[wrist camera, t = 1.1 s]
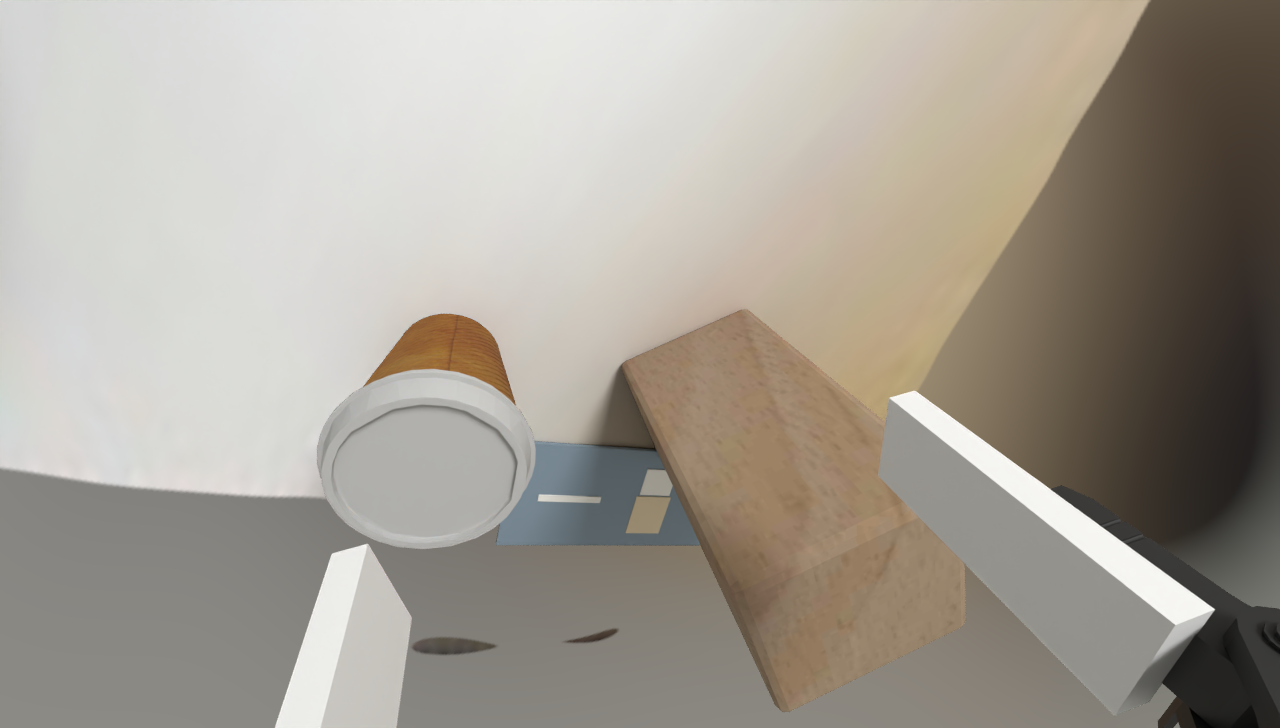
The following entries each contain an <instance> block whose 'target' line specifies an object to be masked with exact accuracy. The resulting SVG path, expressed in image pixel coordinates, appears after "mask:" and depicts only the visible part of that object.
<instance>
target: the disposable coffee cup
mask: <svg viewBox="0 0 1280 728" xmlns="http://www.w3.org/2000/svg"><path fill="white" fill-rule="evenodd" d="M535 454H536V448H535V442H534V437H533V434H532V431H531V428H530V427H529V425H528V423H527V421H526V419H525V418H524V416H523V414H522V412H521V411H520V410H519V409H518V408H517V407H516V405H515V400H514V397H513V394H512V391H511V388H510V384H509V381H508V378H507V375H506V371H505V368H504V365H503V362H502V358H501V355H500V352H499V348H498V345H497V343H496V341H495V339H494V337H493V336H492V335H491V333H490V332H489V331H488V330H487V329H486V328H484V327H483V326H482V325H481V324H479V323H478V322H476V321H474V320H472V319H470V318H467V317H464V316H460V315H454V314H438V315H432V316H429V317H426V318H424V319H421V320H419V321H418V322H416V323H414V324H413V325H412V326H411V327H410V328H409V329H408V330H407V331H406V332H405V333H404V335H403V336H402V337H401V339H400V340H399V341H398V342H397V344H396V345H395V346H394V348H393V349H392V350H391V351H390V353H389V354H388V355H387V356H386V358H385V359H384V360H383V362H382V363H381V364H380V366H379V367H378V368H377V369H376V371H375V372H374V373H373V375H372V376H371V377H370V379H369V380H368V381H367V383H366V384H365V385H364V386H363V388H361V389H359V390H357V391H355V392H354V393H352V394H351V395H350V396H349V397H348V398H347V399H345V400H344V401H343V402H342V403H341V404H340V405H339V406H338V407H337V408H336V409H335V410H334V411H333V413H332V414H331V415H330V417H329V419H328V420H327V422H326V423H325V425H324V427H323V429H322V432H321V434H320V438H319V442H318V446H317V465H318V469H319V473H320V477H321V479H322V486H323V489H324V492H325V496H326V499H327V500H328V502H329V503H330V505H331V506H332V508H333V509H334V511H335V512H336V514H337V515H338V516H339V517H340V518H341V519H342V520H343V521H344V522H345V523H346V524H347V525H348V526H350V527H351V528H353V529H354V530H356V531H357V532H359V533H361V534H363V535H365V536H367V537H369V538H371V539H373V540H375V541H378V542H382V543H386V544H389V545H392V546H396V547H404V548H416V549H430V548H439V547H447V546H453V545H456V544H459V543H462V542H465V541H469V540H471V539H475V538H477V537H479V536H481V535H482V534H484V533H486V532H488V531H489V530H491V529H493V528H494V527H496V526H497V525H498V524H499V523H501V522H502V521H503V520H504V519H505V518H507V516H508V515H509V514H510V512H511V511H512V510H513V509H514V507H515V506H516V505H517V503H518V501H519V500H520V498H521V496H522V493H523V492H524V491H525V489H526V488H527V486H528V483H529V481H530V479H531V477H532V474H533V470H534V466H535Z"/></svg>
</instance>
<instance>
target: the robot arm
mask: <svg viewBox="0 0 1280 728" xmlns="http://www.w3.org/2000/svg"><path fill="white" fill-rule="evenodd" d="M878 476H879V477H880V478H881V479H882V480H883V481H884V482H885V483H886V484H887V485H888V486H889V487H890V488H891V489H892V490H893V491H894V492H895V493H896V494H897V496H898V497H899V498H900V499H901V500H902V501H903V502H904V503H905V504H906V505H907V506H908V507H909V508H910V509H911V510H912V511H913V512H914V513H915V514H916V515H917V516H918V517H919V518H920V519H921V520H922V521H923V522H924V523H925V524H926V525H927V526H928V527H929V528H930V529H931V530H932V531H933V532H934V533H935V534H936V535H937V536H938V537H939V538H940V539H941V540H942V541H943V542H944V543H945V544H946V545H947V546H948V547H949V548H950V549H951V550H952V551H953V552H954V553H955V554H956V555H957V556H958V557H959V558H960V560H961V561H962V562H963V563H964V564H965V565H967V566H968V567H969V569H970V570H971V571H972V572H973V573H974V574H975V575H976V576H977V577H978V578H979V579H980V580H981V581H982V582H983V583H984V584H985V585H986V586H988V588H989V589H990V590H991V591H992V592H993V593H994V594H995V595H996V596H997V597H998V598H999V599H1000V600H1001V601H1002V602H1003V603H1004V604H1005V605H1006V606H1007V607H1008V608H1009V609H1010V610H1011V611H1012V612H1013V613H1014V614H1015V615H1016V616H1017V617H1018V618H1019V619H1020V620H1021V621H1022V622H1023V624H1025V626H1026V627H1028V629H1029V630H1030V631H1031V632H1032V633H1033V634H1034V635H1035V636H1036V637H1037V638H1038V639H1039V640H1040V641H1041V642H1042V643H1043V644H1044V645H1045V646H1046V647H1047V648H1048V649H1049V650H1050V651H1051V652H1052V653H1053V654H1054V655H1055V656H1056V657H1057V658H1058V659H1059V660H1060V661H1061V662H1062V663H1063V664H1064V665H1065V666H1066V667H1067V668H1068V669H1069V670H1070V671H1071V672H1072V673H1073V674H1074V675H1075V676H1076V677H1077V678H1078V679H1079V680H1080V681H1081V682H1082V683H1083V684H1084V685H1085V686H1086V687H1087V689H1088V690H1090V692H1092V693H1093V695H1094V696H1095V697H1097V699H1098V700H1099V701H1100V702H1101V703H1102V704H1103V705H1104V706H1105V707H1106V708H1107V709H1108V710H1109V711H1110V712H1111V713H1112V714H1113V715H1114V716H1116V715H1118V714H1121V713H1123V712H1126V711H1128V710H1131V709H1133V708H1135V707H1138V706H1140V705H1143V704H1145V703H1147V702H1149V701H1150V700H1151V698H1152V697H1153V695H1154V694H1155V693H1156V691H1157V690H1158V688H1159V687H1160V686H1161V684H1162V683H1163V684H1164V685H1165V686H1166V687H1167V688H1169V689H1170V690H1171V691H1172V692H1173V693H1174V694H1175V695H1176V696H1177V697H1176V698H1175V699H1174V701H1173V702H1172V703H1171V705H1170V706H1169V707H1168V709H1167V710H1166V711H1165V713H1164V714H1163V715H1162V717H1161V718H1160V719H1159V720H1158V728H1173V727H1174V726H1175V725H1176V724H1177V722H1179V725H1180V728H1280V609H1277V608H1268V607H1260V606H1256V607H1251V606H1249V605H1247V604H1245V603H1243V602H1242V601H1240V600H1239V599H1237V598H1235V597H1234V596H1232V595H1231V594H1229V593H1228V592H1226V591H1225V590H1223V589H1222V588H1221V587H1219V586H1218V585H1216V584H1215V583H1213V582H1212V581H1210V580H1209V579H1208V578H1206V577H1205V576H1203V575H1202V574H1200V573H1199V572H1197V571H1196V570H1195V569H1193V568H1192V567H1190V566H1189V565H1187V564H1186V563H1184V562H1183V561H1182V560H1180V559H1179V558H1177V557H1176V556H1174V555H1173V554H1172V553H1170V552H1169V551H1167V550H1166V549H1164V548H1163V547H1161V546H1160V545H1159V544H1157V543H1156V542H1154V541H1153V540H1151V539H1150V538H1148V537H1147V538H1145V537H1143V535H1142V533H1141V532H1140V531H1138V530H1137V529H1136V528H1134V527H1133V526H1131V525H1130V524H1128V523H1127V522H1122V521H1121V520H1120V517H1118V516H1117V515H1115V514H1114V513H1112V512H1111V511H1110V510H1108V509H1107V508H1105V507H1104V506H1102V505H1101V504H1099V503H1098V502H1096V501H1095V500H1094V499H1092V498H1090V497H1087V496H1085V495H1083V494H1080V493H1078V492H1076V491H1074V490H1071V489H1069V488H1067V487H1064V486H1062V485H1061V486H1058V487H1055V488H1052V489H1049V488H1047V487H1046V486H1045V485H1044V484H1042V483H1041V482H1039V481H1038V480H1037V479H1035V478H1034V477H1033V476H1031V475H1030V474H1028V473H1027V472H1025V471H1024V470H1023V469H1022V468H1020V467H1019V466H1017V465H1016V464H1015V463H1013V462H1012V461H1011V460H1009V459H1008V458H1006V457H1005V456H1004V455H1002V454H1001V453H999V452H998V451H997V450H995V449H994V448H993V447H991V446H990V445H989V444H987V443H986V442H985V441H983V440H982V439H980V438H979V437H978V436H976V435H975V434H974V433H972V432H971V431H970V430H968V429H967V428H965V427H964V426H963V425H961V424H960V423H959V422H957V421H956V420H954V419H953V418H952V417H950V416H949V415H948V414H946V413H945V412H943V411H942V410H941V409H939V408H938V407H937V406H935V405H934V404H932V403H931V402H930V401H928V400H927V399H926V398H924V397H923V396H922V395H920V394H919V393H917V392H916V391H912V392H908V393H905V394H901V395H897V396H894V397H890V398H889V402H888V409H887V417H886V424H885V431H884V438H883V445H882V452H881V459H880V466H879V473H878ZM411 620H412V618H411V616H410V614H409V612H408V611H407V609H406V607H405V605H404V604H403V602H402V601H401V599H400V597H399V595H398V594H397V592H396V591H395V589H394V587H393V585H392V584H391V582H390V580H389V579H388V577H387V575H386V573H385V572H384V570H383V568H382V567H381V565H380V563H379V562H378V560H377V558H376V556H375V555H374V553H373V551H372V550H371V548H370V546H369V545H368V544H365V545H361V546H357V547H354V548H350V549H347V550H343V551H339V552H336V553H332V555H331V558H330V561H329V564H328V567H327V570H326V573H325V576H324V579H323V582H322V585H321V589H320V592H319V594H318V598H317V601H316V604H315V607H314V610H313V613H312V616H311V619H310V622H309V625H308V628H307V631H306V634H305V638H304V640H303V643H302V646H301V649H300V653H299V656H298V659H297V662H296V665H295V668H294V671H293V674H292V677H291V680H290V683H289V686H288V689H287V692H286V695H285V699H284V701H283V704H282V708H281V710H280V714H279V717H278V720H277V723H276V726H275V728H396V727H397V719H398V712H399V705H400V698H401V691H402V684H403V677H404V669H405V662H406V656H407V649H408V641H409V634H410V627H411Z"/></svg>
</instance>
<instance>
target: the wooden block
mask: <svg viewBox="0 0 1280 728" xmlns="http://www.w3.org/2000/svg"><path fill="white" fill-rule="evenodd" d="M622 371H623V374H624V376H625V378H626V381H627V383H628V385H629V388H630V390H631V392H632V395H633V397H634V399H635V401H636V404H637V406H638V408H639V411H640V413H641V415H642V418H643V420H644V422H645V425H646V427H647V429H648V431H649V434H650V436H651V438H652V441H653V443H654V445H655V448H656V450H657V452H658V455H659V457H660V459H661V461H662V464H663V466H664V468H665V470H666V472H667V474H668V476H669V479H670V481H671V483H672V485H673V487H674V489H675V491H676V494H677V496H678V498H679V500H680V502H681V504H682V507H683V509H684V511H685V513H686V515H687V517H688V519H689V522H690V524H691V526H692V528H693V530H694V532H695V534H696V537H697V539H698V541H699V543H700V545H701V547H702V549H703V552H704V554H705V556H706V558H707V560H708V562H709V564H710V566H711V568H712V571H713V573H714V575H715V577H716V579H717V582H718V583H719V586H720V588H721V590H722V592H723V594H724V597H725V599H726V601H727V603H728V605H729V607H730V609H731V612H732V614H733V616H734V618H735V620H736V622H737V624H738V627H739V629H740V631H741V633H742V635H743V637H744V639H745V642H746V644H747V646H748V648H749V650H750V652H751V654H752V656H753V658H754V661H755V663H756V665H757V667H758V669H759V672H760V674H761V676H762V678H763V680H764V682H765V684H766V687H767V689H768V691H769V693H770V695H771V697H772V699H773V701H774V704H775V705H776V706H777V707H778V708H779V709H780V710H781V711H782V712H790V711H792V710H794V709H796V708H798V707H800V706H802V705H804V704H806V703H808V702H810V701H812V700H814V699H816V698H818V697H820V696H822V695H824V694H826V693H828V692H831V691H832V690H835V689H837V688H839V687H841V686H843V685H845V684H847V683H849V682H851V681H853V680H855V679H857V678H859V677H861V676H863V675H865V674H867V673H869V672H871V671H873V670H875V669H877V668H879V667H881V666H883V665H885V664H887V663H889V662H892V661H893V660H895V659H898V658H900V657H902V656H903V655H906V654H908V653H910V652H912V651H914V650H916V649H918V648H920V647H922V646H924V645H926V644H928V643H930V642H932V641H934V640H936V639H938V638H940V637H942V636H945V635H946V634H949V633H950V632H953V631H955V630H957V629H959V628H961V627H962V625H963V624H964V623H965V621H966V614H965V613H966V612H965V567H964V566H965V564H964V563H963V562H962V561H961V560H960V558H959V557H958V556H957V555H956V554H955V553H954V552H953V551H952V550H951V549H950V548H949V547H948V546H947V545H946V544H945V543H944V542H943V541H942V540H941V539H940V538H939V537H938V536H937V535H936V534H935V533H934V532H933V531H932V530H931V529H930V528H929V527H928V526H927V525H926V524H925V523H924V522H923V521H922V520H921V519H920V518H919V517H918V516H917V515H916V514H915V513H914V512H913V511H912V510H911V509H910V508H909V507H908V506H907V505H906V504H905V503H904V502H903V501H902V500H901V499H900V498H899V497H898V496H897V494H896V493H895V492H894V491H893V490H892V489H891V488H890V487H889V486H888V485H887V484H886V483H885V482H884V481H883V480H882V479H881V478H880V477H879V476H878V473H879V466H880V459H881V452H882V445H883V438H884V431H885V424H886V422H884V421H883V420H882V419H881V418H879V417H878V416H877V415H876V414H875V413H873V412H872V411H871V410H870V409H868V408H867V407H866V406H865V405H864V404H862V403H861V402H860V401H859V400H857V399H856V398H855V397H854V396H853V395H851V394H850V393H849V392H848V391H846V390H845V389H844V388H843V387H842V386H840V385H839V384H838V383H837V382H835V381H834V380H833V379H832V378H831V377H829V376H828V375H827V374H826V373H824V372H823V371H822V370H821V369H820V368H818V367H817V366H816V365H815V364H813V363H812V362H811V361H810V360H809V359H807V358H806V357H805V356H804V355H802V354H801V353H800V352H799V351H798V350H796V349H795V348H794V347H793V346H791V345H790V344H789V343H788V342H787V341H785V340H784V339H783V338H782V337H780V336H779V335H778V334H777V333H776V332H774V331H773V330H772V329H771V328H769V327H768V326H767V325H766V324H765V323H763V322H762V321H761V320H760V319H758V318H757V317H756V316H755V315H754V314H752V313H751V312H750V311H749V310H740V311H738V312H736V313H733V314H731V315H729V316H727V317H724V318H722V319H720V320H718V321H715V322H713V323H711V324H709V325H706V326H704V327H702V328H700V329H697V330H695V331H693V332H690V333H688V334H686V335H684V336H681V337H679V338H677V339H675V340H672V341H670V342H668V343H666V344H663V345H661V346H659V347H657V348H654V349H652V350H650V351H648V352H645V353H643V354H641V355H639V356H636V357H634V358H632V359H630V360H627V361H625V362H624V363H623V364H622Z"/></svg>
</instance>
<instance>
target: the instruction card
mask: <svg viewBox="0 0 1280 728" xmlns="http://www.w3.org/2000/svg"><path fill="white" fill-rule="evenodd" d="M534 442H535V448H536V454H535V466H534V470H533V474H532V477H531V479H530V481H529V483H528V486H527V488H526V489H525V491H524V492H523V493H522V496H521V498H520V500H519V501H518V503H517V505H516V506H515V507H514V509H513V510H512V511H511V512H510V514H509V515H508V516H507V518H505V519H504V520H503V521H502V522H501V523H500V524H499V530H498V535H497V541H496V545H700V543H699V541H698V539H697V537H696V534H695V532H694V530H693V528H692V526H691V524H690V522H689V519H688V517H687V515H686V513H685V511H684V509H683V507H682V504H681V502H680V500H679V498H678V496H677V494H676V491H675V489H674V487H673V485H672V483H671V481H670V479H669V476H668V474H667V472H666V470H665V468H664V466H663V464H662V461H661V459H660V457H659V455H658V452H657V450H656V449H642V448H627V447H612V446H597V445H582V444H567V443H552V442H537V441H534Z"/></svg>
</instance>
